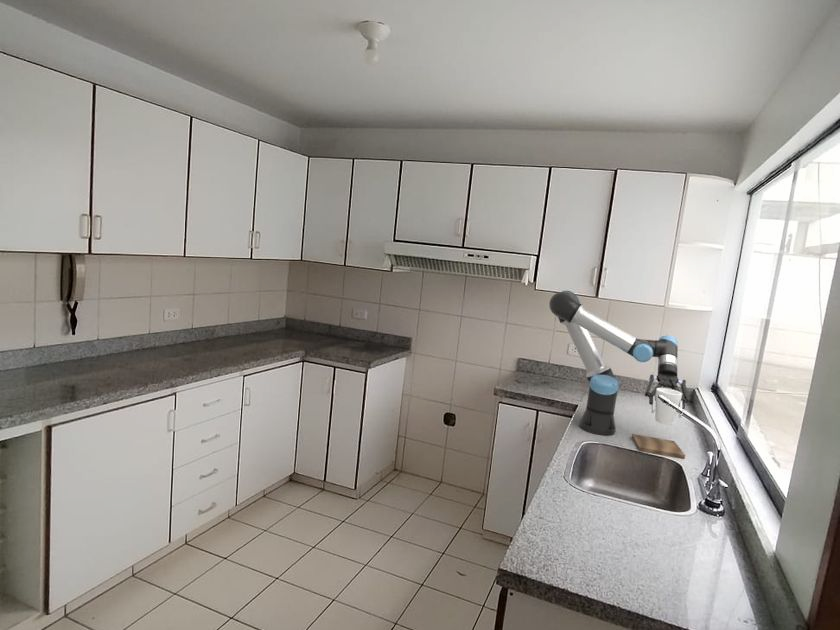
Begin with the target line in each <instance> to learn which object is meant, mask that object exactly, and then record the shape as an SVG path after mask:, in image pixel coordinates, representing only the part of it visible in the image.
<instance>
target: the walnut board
mask: <svg viewBox="0 0 840 630" xmlns="http://www.w3.org/2000/svg"><path fill="white" fill-rule="evenodd" d="M631 439H632V440H633V443H634V444H635V446H636V449H637V450H638V451H639V452H643V453H650V454H655V455H660V456H667V457H672V458H677V459H681V460H682V459H684V460H685V458H686V454H685V453H684V451H683V450H682V449H681V448H680V446H679V445H678V444H677V442H675V440H670V439H663V438H659V437H653V436H646V435H641V434H635V433H632V434H631Z"/></svg>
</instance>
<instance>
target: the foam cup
mask: <svg viewBox="0 0 840 630" xmlns="http://www.w3.org/2000/svg"><path fill="white" fill-rule="evenodd" d="M658 395H663V396H664V397H666V398H667V399H669V400H670V401H672V402H673V403H675V404H676V405H678V406H679V402H680V400H681V397H682V395H683V393H682V391H680V392H678V391H676V390H672V389H671V388H668V387H661V388H657V389H656V394H655V413H654V414H655V417H654V418H655V419H654V420H655V422H656V423H659V424H662V425H668V426H669V425H673V423H674V420H675V417H676V414H677V411H678V410H677V411H676V410H675V409H673V408H672V407H670V406H668V405H666V404H665V403H663V402H662V401H661V400H660V399H659V398H658Z"/></svg>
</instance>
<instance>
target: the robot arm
mask: <svg viewBox="0 0 840 630" xmlns="http://www.w3.org/2000/svg"><path fill="white" fill-rule="evenodd" d="M548 305H549V310H550V311H551V313H552V314H553V315H555V316H556V317H557V319H558V321H559V323H560V324H561V325H564V326H565V328H566V330H567V332H568V334H569V336H570V338H571V340H572V342H573V345H574V346H575V347H574V348H575V349H576V351H577V353H578V355H579V357H580V359H581V361H582V364H583V365H584V367H585V370H586V374H585V375H586V376H585V378H586V380H587V381H588V384H589V389H588V394H587V395H588V396H587V401H586V408H585V411H584V412H583V415H582V416H581V418H580V420H579V424H578V426H579V427H580V428H581V429H582V430H584V431H586V432H588V433H590V434H591V433H592V434H595V435H598V436H599V435H601V436H614V435H615V433H616V430H617V427H616V421H615V416H614V415H615V409H616V401H617V399H618V398H617V397H618V393H619V390H620V382H619V380H618V377H616V376H615V374H614V372H613V370H612V368H611V366H609V365H607V364H605V362H604V358H602V355H601V353H600V351H599V349H598V346H597V345H596V343H595V340H594V339H593V336H592V335H591V333H592V334H593V335H595V336H597V337H598V338H600V339H602V340H604V341H605V342H608V343H609V344H611V345H612V346H614V347H615V348H617V349H619V350H621V351H623V352H624V353H626V354H628V355H630V356H631V357H632V358H634V359H635V361H637V362H639V363H647V362H649V361H650V360H651V359H652V358H657V361H658V362H657V375H653V374H650V375H649V382H648V384H647V387H646V390H645V392H644V396H645V397H648V399H649V400H648V405H651V413H652V414H655V413H654V412H656V389H657V388H667V389H672V390H676V391H678V392H681V393H682V397H681V400H680V402H679V405H678V408H679V407H681V408H682V409H684V410H685V409H686V405H687V404H689V403H690V401H691V397H690V393H689V392H688V388H687V386H686V382H687V381H686V379H681V380H680V379H679V378H678V377H679V376H678V351H679V350H678V347H679V346H678V340H677V338H676V337H675V336H672V335H668V334H667V335H662V336H660V337H659V339H657V340H653V339H641V338H637V337H636V336H634V335H632V334H630V333H628V332H626V331H625V330H623V329H621V328H619V327H617V326H616V325H614V324H612V323H611V322H609V321H607V320H605V319H603V318H602V317H600V316H598V315H597V314H595V313H593V312H591V311H589V310H587V309H585V308H584V305H583V304H582V303H580V299H579V297H578V295H577V294H576V293H574V292H573V291H571V290H562V291H559V292H556V293H555V294H553V295H552V296H551V298H550V299H549V302H548ZM655 381H657V382H658V384H657V385H656V386H655V387H654V388H653V390H651V388H652V386H653V383H654V382H655ZM678 385H679V386H680V389H681V390H680V389H679V387H678ZM650 390H651V392H650ZM682 416H683V413H682V414H680V413H679V412H678V419H682Z"/></svg>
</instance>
